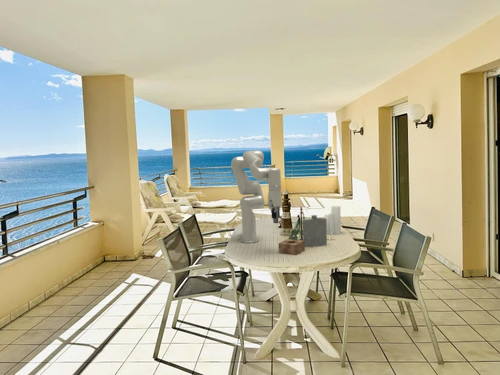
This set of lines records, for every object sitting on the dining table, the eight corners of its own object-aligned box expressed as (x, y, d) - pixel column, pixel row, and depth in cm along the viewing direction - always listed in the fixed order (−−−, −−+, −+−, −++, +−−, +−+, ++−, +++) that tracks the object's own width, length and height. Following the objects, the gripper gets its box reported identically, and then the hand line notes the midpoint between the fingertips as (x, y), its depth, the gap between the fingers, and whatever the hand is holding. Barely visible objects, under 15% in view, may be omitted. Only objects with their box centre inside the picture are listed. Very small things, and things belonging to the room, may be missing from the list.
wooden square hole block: (278, 252, 243) (278, 243, 242) (287, 248, 253) (287, 239, 252) (296, 255, 236) (296, 245, 236) (304, 250, 246) (304, 240, 246)
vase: (339, 232, 293) (339, 206, 291) (341, 234, 286) (341, 207, 284) (324, 233, 293) (323, 206, 291) (326, 235, 286) (325, 208, 284)
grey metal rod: (272, 223, 243) (271, 203, 242) (274, 222, 246) (274, 203, 244) (276, 223, 241) (276, 204, 240) (279, 222, 244) (278, 203, 243)
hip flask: (304, 247, 254) (303, 216, 252) (302, 245, 258) (301, 215, 256) (327, 245, 257) (327, 215, 255) (325, 243, 261) (324, 214, 259)
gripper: (276, 187, 250) (276, 215, 252) (262, 189, 237) (263, 219, 238) (286, 187, 246) (287, 216, 248) (273, 189, 233) (274, 220, 234)
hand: (275, 217), depth 243 cm, fingers closed on grey metal rod, 3 cm apart
